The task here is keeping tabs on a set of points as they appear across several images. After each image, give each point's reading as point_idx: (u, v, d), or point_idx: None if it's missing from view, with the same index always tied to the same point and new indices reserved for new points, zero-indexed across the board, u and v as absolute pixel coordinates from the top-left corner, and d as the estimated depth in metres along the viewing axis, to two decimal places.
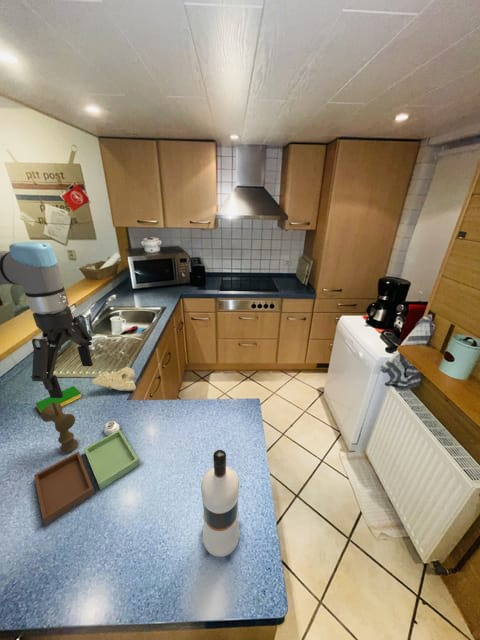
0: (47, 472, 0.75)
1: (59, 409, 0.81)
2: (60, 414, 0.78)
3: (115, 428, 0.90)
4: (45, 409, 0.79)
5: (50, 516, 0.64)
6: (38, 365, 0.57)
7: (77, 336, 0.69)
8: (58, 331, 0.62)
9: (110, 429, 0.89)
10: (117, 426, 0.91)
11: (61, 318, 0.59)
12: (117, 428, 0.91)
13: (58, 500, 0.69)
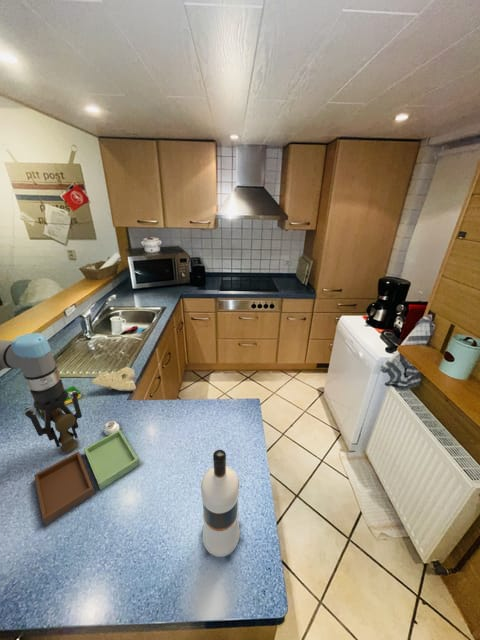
0: (47, 472, 0.75)
1: (59, 409, 0.81)
2: (60, 414, 0.78)
3: (115, 428, 0.90)
4: None
5: (50, 516, 0.64)
6: (34, 425, 0.75)
7: (66, 410, 0.79)
8: (46, 402, 0.74)
9: (110, 429, 0.89)
10: (117, 426, 0.91)
11: (41, 396, 0.71)
12: (117, 428, 0.91)
13: (58, 500, 0.69)
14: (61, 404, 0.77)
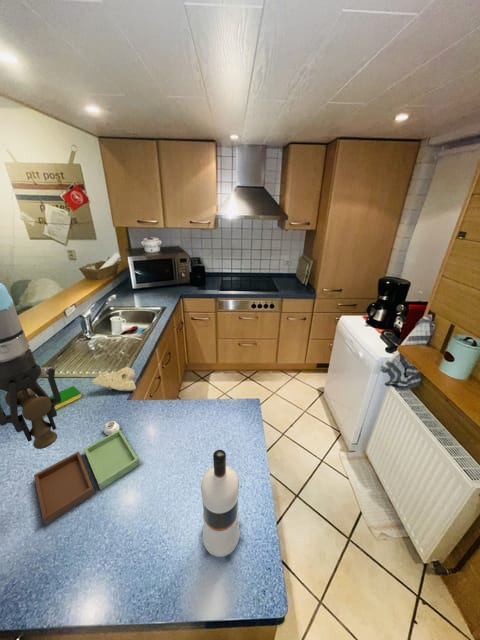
0: (47, 472, 0.75)
1: (31, 391, 0.61)
2: (31, 397, 0.59)
3: (115, 428, 0.90)
4: None
5: (50, 516, 0.64)
6: None
7: (38, 391, 0.59)
8: (10, 379, 0.55)
9: (110, 429, 0.89)
10: (117, 426, 0.91)
11: (0, 369, 0.51)
12: (117, 428, 0.91)
13: (58, 500, 0.69)
14: (31, 383, 0.57)
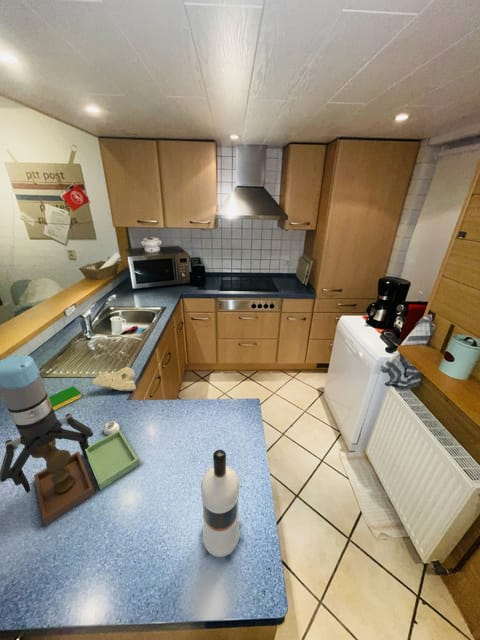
0: (47, 472, 0.75)
1: (52, 443, 0.69)
2: (53, 450, 0.66)
3: (115, 428, 0.90)
4: None
5: (50, 516, 0.64)
6: (3, 465, 0.60)
7: (66, 436, 0.67)
8: (35, 436, 0.62)
9: (110, 429, 0.89)
10: (117, 426, 0.91)
11: (28, 431, 0.59)
12: (117, 428, 0.91)
13: (58, 500, 0.69)
14: (55, 435, 0.65)
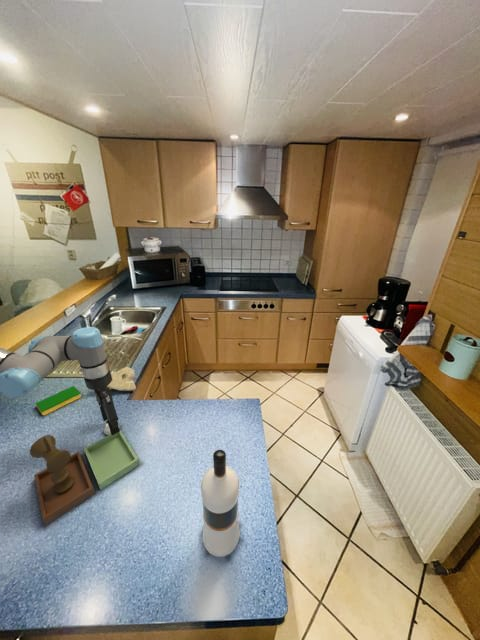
0: (47, 472, 0.75)
1: (52, 443, 0.69)
2: (53, 450, 0.66)
3: None
4: (35, 444, 0.67)
5: (50, 516, 0.64)
6: None
7: (103, 405, 0.82)
8: None
9: None
10: None
11: None
12: None
13: (58, 500, 0.69)
14: (98, 397, 0.81)
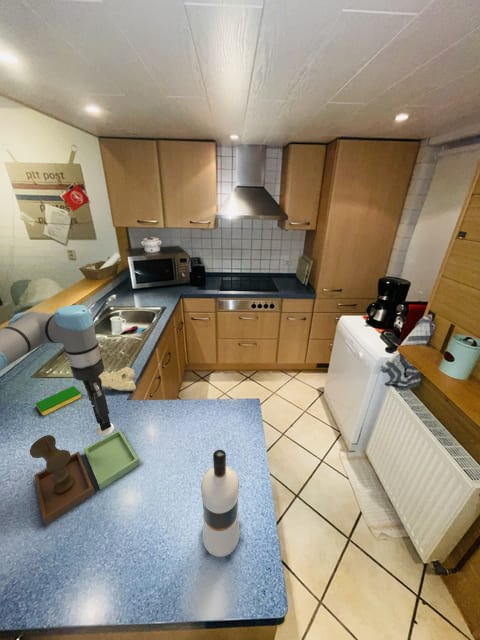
0: (47, 472, 0.75)
1: (52, 443, 0.69)
2: (53, 450, 0.66)
3: (109, 429, 0.77)
4: (35, 444, 0.67)
5: (50, 516, 0.64)
6: None
7: (92, 398, 0.70)
8: None
9: None
10: (111, 426, 0.78)
11: None
12: (111, 429, 0.78)
13: (58, 500, 0.69)
14: (87, 390, 0.69)
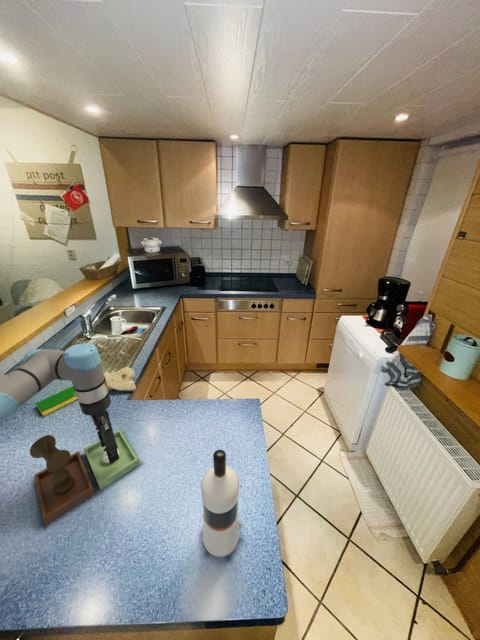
0: (47, 472, 0.75)
1: (52, 443, 0.69)
2: (53, 450, 0.66)
3: None
4: (35, 444, 0.67)
5: (50, 516, 0.64)
6: None
7: (100, 432, 0.72)
8: None
9: None
10: None
11: None
12: None
13: (58, 500, 0.69)
14: (95, 423, 0.71)
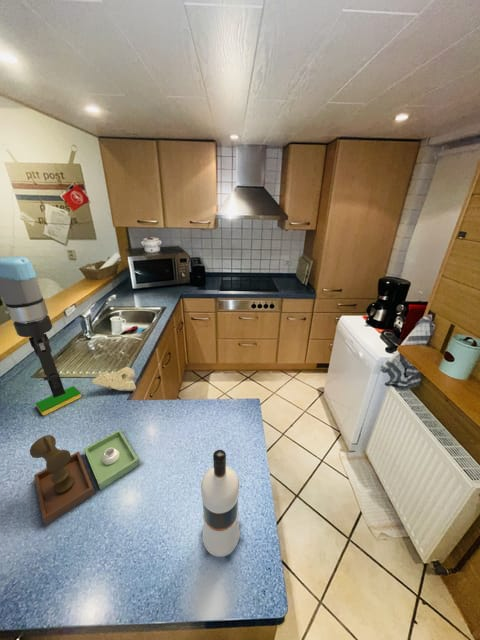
0: (47, 472, 0.75)
1: (52, 443, 0.69)
2: (53, 450, 0.66)
3: (115, 456, 0.79)
4: (35, 444, 0.67)
5: (50, 516, 0.64)
6: None
7: None
8: None
9: (109, 458, 0.78)
10: (117, 454, 0.80)
11: None
12: (117, 456, 0.80)
13: (58, 500, 0.69)
14: None
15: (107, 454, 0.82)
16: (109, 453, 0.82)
